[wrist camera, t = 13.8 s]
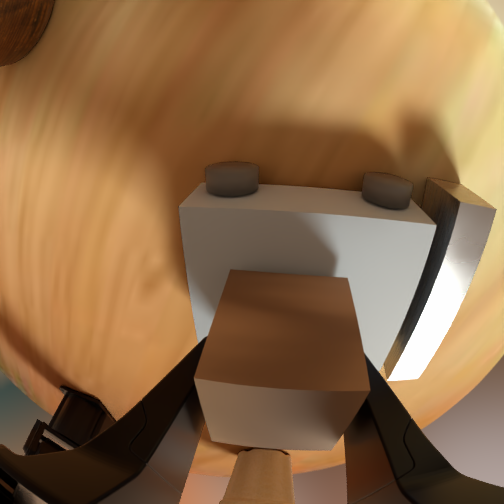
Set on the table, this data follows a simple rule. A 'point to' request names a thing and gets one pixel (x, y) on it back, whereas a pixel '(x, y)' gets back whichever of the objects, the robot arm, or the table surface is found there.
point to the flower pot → (260, 479)
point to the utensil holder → (21, 27)
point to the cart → (308, 242)
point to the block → (282, 362)
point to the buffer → (441, 275)
